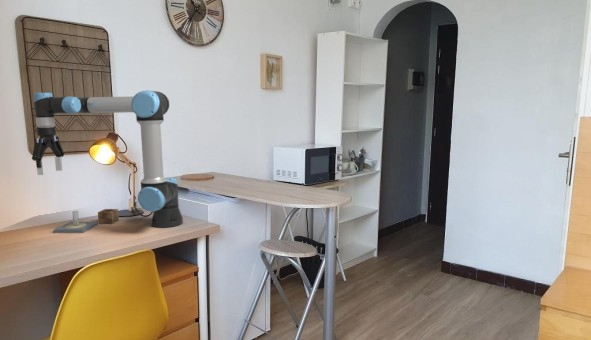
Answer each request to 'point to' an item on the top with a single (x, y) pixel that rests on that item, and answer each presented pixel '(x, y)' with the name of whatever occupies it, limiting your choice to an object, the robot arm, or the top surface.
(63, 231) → the post block
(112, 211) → the collar
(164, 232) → the top surface
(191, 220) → the top surface
